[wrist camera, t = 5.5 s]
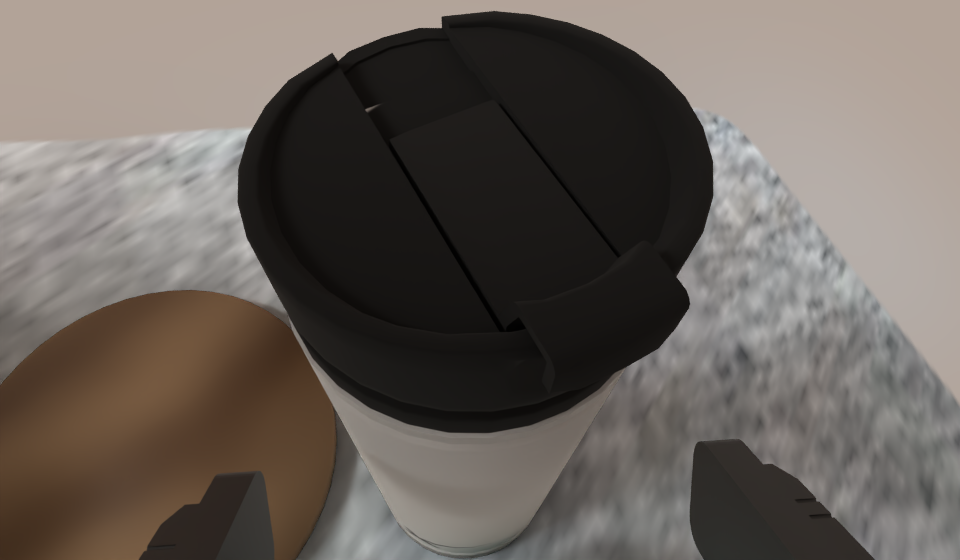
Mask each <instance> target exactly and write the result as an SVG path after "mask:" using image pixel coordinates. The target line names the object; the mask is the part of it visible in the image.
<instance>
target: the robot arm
mask: <svg viewBox="0 0 960 560" xmlns="http://www.w3.org/2000/svg"><path fill="white" fill-rule="evenodd" d="M690 525H691V530H692V535H693V538H694V541H695V544H696V546H697V548H698V550H699V552H700V554H701V555H702V557H703V559H704V560H875V559H874V558H873V557H872V556H871V555H870V554H869V553H868V552H867V551H866V550H865V549H864V548H863V547H862V546H861V545H860V544H859V543H858V542H857V541H856V540H855V538H854V537H853V536H852V535H851V534H850V533H849V532H848V531H847V530H846V529H845V528H844V527H843V526H842V525H841V524H840V523H839V522H838V521H837V520H836V519H835V518H832V517H831V513H830V512H829V511H828V510H827V509H826V508H825V507H824V506H823V505H822V504H821V503H820V502H817V501H816V498H815V497H814V495H813V494H812V493H811V492H810V491H809V490H808V489H807V488H806V487H805V486H804V485H803V484H802V483H801V482H800V481H799V480H798V479H797V478H795V477H793V476H792V475H790V474H788V473H787V472H785V471H783V470H781V469H780V468H778V467H776V466H775V465H773V464H764V465H763V464H762V463H761V462H760V461H759V459H758V458H757V457H756V456H755V455H754V454H753V453H752V452H751V450H750V449H749V448H748V447H747V446H746V445H745V444H744V443H743V442H742V441H741V440H739V439H730V440H716V441H701V442H698V443H697V444H696V446H695V449H694V456H693V471H692V486H691V501H690ZM139 560H274V540H273V533H272V526H271V519H270V512H269V505H268V498H267V491H266V485H265V479H264V476H263V474H262V472H261V471H249V472H234V473H220V474H217V475H216V476H215V477H214V479H213V480H212V482H211V484H210V486H209V487H208V489H207V491H206V493H205V494H204V496H203V498H202V500H201V501H200V503H199V504H186V505H184V506H183V507H181V508H180V509H179V510H178V511H177V512H175V513H174V514H173V515H172V516H170V517H169V518H168V519H167V520H166V521H164V522H163V523H162V524H161V525H160V527H159V528H158V530H157V531H156V533H155V534H154V536H153V538H152V539H151V541H150V542H149V544H148V546H147V551H144V552H143V554H142V555H141V557H140V558H139Z"/></svg>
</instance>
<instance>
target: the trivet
mask: <svg viewBox="0 0 960 560" xmlns="http://www.w3.org/2000/svg"><path fill="white" fill-rule="evenodd" d="M336 442H337V434H336V421H335V413H334V408H333V404H332V402H331V401H330V399H329V397H328V395H327V393H326V391H325V390H324V388H323V386H322V384H321V382H320V381H319V379H318V377H317V375H316V373H315V371H314V370H313V368H312V366H311V364H310V362H309V360H308V359H307V357H306V355H305V353H304V351H303V349H302V347H301V346H300V344H299V342H298V340H297V339H296V337H295V335H294V333H293V331H292V330H291V329H290V328H289V327H288V326H287V325H286V324H285V323H284V322H282V321H281V320H279V319H278V318H276V317H275V316H274V315H272V314H271V313H269V312H268V311H266V310H264V309H262V308H260V307H258V306H256V305H254V304H252V303H250V302H247V301H244V300H241V299H239V298H236V297H233V296H229V295H224V294H219V293H215V292H207V291H195V290H181V291H165V292H158V293H151V294H146V295H142V296H137V297H133V298H129V299H126V300H123V301H120V302H117V303H114V304H112V305H109V306H106V307H103V308H101V309H99V310H97V311H95V312H93V313H91V314H89V315H86V316H84V317H82V318H81V319H79V320H77V321H75V322H74V323H72V324H70V325H69V326H67V327H65V328H64V329H62V330H60V331H59V332H58V333H56V334H55V335H54V336H52V337H51V338H50V339H48V340H47V341H45V342H44V343H43V344H41V345H40V346H39V347H38V348H37V349H36V350H34V351H33V352H32V353H31V354H30V355H29V356H28V357H27V358H25V359H24V360H23V361H22V362H21V363H20V364H19V365H18V366H17V367H16V368H15V370H14V371H13V372H12V373H11V374H10V375H9V376H8V377H7V378H6V379H5V380H4V381H3V383H2V384H1V385H0V560H139V558H140V557H141V555H142V554H143V552H144V551H147V546H148V544H149V542H150V541H151V539H152V538H153V536H154V534H155V533H156V531H157V530H158V528H159V527H160V525H161V524H162V523H163V522H164V521H166V520H167V519H168V518H169V517H170V516H172V515H173V514H174V513H175V512H177V511H178V510H179V509H180V508H181V507H183V506H184V505H186V504H199V503H200V501H201V500H202V498H203V496H204V494H205V493H206V491H207V489H208V487H209V486H210V484H211V482H212V480H213V479H214V477H215V476H216V475H217V474H220V473H234V472H249V471H261V472H262V474H263V476H264V479H265V485H266V491H267V498H268V505H269V512H270V519H271V526H272V533H273V540H274V560H295V559H296V558H297V557H298V555H299V553H300V552H301V550H302V549H303V547H304V545H305V544H306V542H307V540H308V539H309V537H310V535H311V534H312V532H313V530H314V527H315V525H316V523H317V521H318V519H319V517H320V514H321V512H322V510H323V508H324V504H325V501H326V498H327V495H328V492H329V489H330V486H331V481H332V476H333V471H334V466H335V460H336Z"/></svg>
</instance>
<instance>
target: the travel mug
mask: <svg viewBox="0 0 960 560" xmlns="http://www.w3.org/2000/svg"><path fill="white" fill-rule="evenodd" d="M712 199H713V160H712V156H711V153H710V149H709V146H708V142H707V139H706V136H705V132H704V129H703V126H702V125H701V123H700V121H699V119H698V118H697V116H696V114H695V113H694V111H693V109H692V107H691V106H690V104H689V102H688V101H687V99H686V97H685V96H684V95H683V94H682V93H681V92H680V91H679V90H678V89H677V88H676V86H675V85H674V84H673V83H672V82H671V81H670V80H669V79H668V78H667V77H666V76H665V75H664V73H662V72H661V71H660V70H659V69H657V68H656V67H655V66H653V65H652V64H651V63H649V62H648V61H647V60H645V59H644V58H642V57H641V56H640V55H639V54H637V53H636V52H634V51H632V50H631V49H629V48H627V47H625V46H623V45H621V44H619V43H617V42H615V41H613V40H612V39H610V38H608V37H605V36H604V35H602V34H599V33H596V32H593V31H591V30H587V29H585V28H582V27H579V26H576V25H574V24H571V23H568V22H563V21H558V20H554V19H549V18H544V17H540V16H535V15H530V14H519V13H508V12H498V11H492V12H481V13H471V14H462V15H452V16H444V17H442V28H418V29H414V30H410V31H406V32H402V33H398V34H395V35H391V36H387V37H383V38H381V39H379V40H376V41H373V42H371V43H369V44H366V45H364V46H361V47H359V48H356V49H354V50H351V51H349V52H348V53H347V54H346V55H345V56H344V57H342V58H341V59H340V60H339V61H337V59H336V58H335V56H334V55H333V53H331V54H330V55H328V56H327V57H325V58H323V59H322V60H320V61H319V62H317V63H315V64H314V65H312V66H311V67H309V68H307V69H306V70H304V71H303V72H301V73H299V74H298V75H296V76H295V77H293V78H291V79H290V80H288V82H287V83H286V84H285V85H284V86H283V87H282V88H281V89H280V91H279V92H278V93H277V94H276V95H275V96H274V97H273V98H272V99H271V101H270V102H269V103H268V104H267V105H266V106H265V108H264V110H263V111H262V113H261V115H260V116H259V118H258V120H257V122H256V123H255V125H254V127H253V129H252V130H251V132H250V134H249V136H248V138H247V142H246V145H245V148H244V152H243V155H242V158H241V162H240V165H239V169H238V206H239V210H240V214H241V218H242V221H243V225H244V229H245V233H246V237H247V239H248V241H249V243H250V245H251V247H252V248H253V250H254V252H255V254H256V256H257V258H258V260H259V262H260V263H261V265H262V267H263V269H264V271H265V273H266V275H267V277H268V278H269V280H270V282H271V284H272V286H273V288H274V290H275V292H276V293H277V295H278V297H279V299H280V301H281V302H282V304H283V306H284V308H285V309H286V311H287V314H288V318H289V321H290V324H291V328H292V331H293V333H294V335H295V337H296V339H297V340H298V342H299V344H300V346H301V347H302V349H303V351H304V353H305V355H306V357H307V359H308V360H309V362H310V364H311V366H312V368H313V370H314V371H315V373H316V375H317V377H318V379H319V381H320V382H321V384H322V386H323V388H324V390H325V391H326V393H327V395H328V397H329V399H330V401H331V402H332V404H333V406H334V408H335V410H336V412H337V413H338V415H339V417H340V419H341V421H342V422H343V424H344V426H345V428H346V430H347V432H348V433H349V435H350V437H351V439H352V441H353V443H354V444H355V446H356V448H357V450H358V452H359V454H360V455H361V457H362V459H363V461H364V463H365V464H366V466H367V468H368V470H369V472H370V474H371V475H372V477H373V479H374V481H375V483H376V485H377V486H378V488H379V490H380V492H381V494H382V495H383V497H384V499H385V501H386V503H387V505H388V506H389V508H390V510H391V512H392V514H393V515H394V517H395V519H396V521H397V522H398V524H399V526H400V527H401V528H402V529H403V530H404V531H405V533H406V534H407V535H408V536H409V537H410V538H411V539H412V540H414V541H415V542H417V543H418V544H419V545H421V546H422V547H423V548H425V549H427V550H430V551H432V552H434V553H436V554H438V555H443V556H447V557H452V558H475V557H480V556H485V555H489V554H491V553H493V552H495V551H498V550H500V549H502V548H504V547H505V546H507V545H508V544H509V543H511V542H512V541H514V540H515V539H516V538H517V537H518V536H519V535H520V534H521V533H522V532H523V531H524V530H525V529H526V528H527V526H528V525H529V523H530V522H531V520H532V519H533V517H534V515H535V514H536V512H537V510H538V509H539V507H540V506H541V504H542V502H543V501H544V499H545V498H546V496H547V494H548V493H549V491H550V489H551V488H552V486H553V485H554V483H555V481H556V480H557V478H558V477H559V475H560V473H561V472H562V470H563V468H564V467H565V465H566V464H567V462H568V460H569V459H570V457H571V456H572V454H573V452H574V451H575V449H576V447H577V446H578V444H579V443H580V441H581V439H582V438H583V436H584V435H585V433H586V431H587V430H588V428H589V427H590V425H591V423H592V422H593V420H594V418H595V417H596V415H597V414H598V412H599V410H600V409H601V407H602V406H603V404H604V402H605V401H606V399H607V397H608V396H609V394H610V393H611V391H612V389H613V388H614V386H615V385H616V383H617V381H618V380H619V378H620V376H621V375H622V373H623V372H624V370H625V368H626V367H627V366H629V365H630V364H632V363H634V362H636V361H637V360H639V359H641V358H643V357H644V356H646V355H648V354H650V353H651V352H653V351H655V350H657V349H658V348H659V347H660V346H661V345H662V344H663V342H664V341H665V340H666V339H667V338H668V337H669V336H670V334H671V333H672V332H673V331H674V330H675V329H676V327H677V325H678V324H679V322H680V321H681V319H682V318H683V316H684V315H685V313H686V312H687V310H688V309H689V305H690V302H689V296H688V293H687V291H686V289H685V288H684V287H683V285H682V284H681V283H680V281H679V280H678V279H677V277H676V276H677V275H678V273H679V271H680V270H681V268H682V266H683V265H684V263H685V261H686V260H687V258H688V257H689V255H690V253H691V252H692V250H693V248H694V247H695V245H696V243H697V242H698V240H699V238H700V237H701V235H702V233H703V231H704V228H705V224H706V220H707V217H708V213H709V210H710V206H711V202H712Z"/></svg>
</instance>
